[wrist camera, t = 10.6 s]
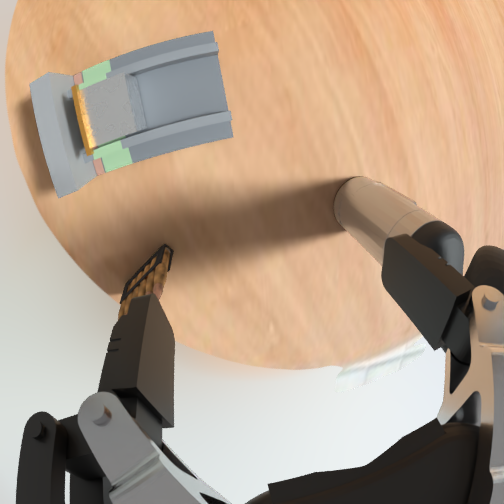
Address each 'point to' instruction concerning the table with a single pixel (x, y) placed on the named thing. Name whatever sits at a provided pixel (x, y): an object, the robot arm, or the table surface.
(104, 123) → the plunger
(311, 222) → the table surface
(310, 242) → the table surface
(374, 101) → the table surface
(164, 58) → the base
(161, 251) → the ammunition clip
